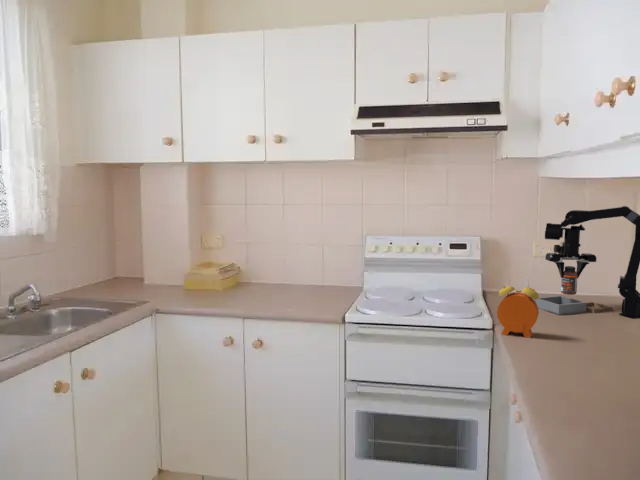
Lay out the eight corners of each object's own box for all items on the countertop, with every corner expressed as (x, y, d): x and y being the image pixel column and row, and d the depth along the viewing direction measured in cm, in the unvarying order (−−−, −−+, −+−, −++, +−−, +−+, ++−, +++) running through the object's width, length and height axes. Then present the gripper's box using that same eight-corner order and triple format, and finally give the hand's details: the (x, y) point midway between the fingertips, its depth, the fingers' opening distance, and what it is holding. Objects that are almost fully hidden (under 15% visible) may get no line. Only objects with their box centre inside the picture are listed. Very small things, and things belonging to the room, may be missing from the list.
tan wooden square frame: (612, 310, 226) (612, 307, 226) (593, 312, 223) (594, 309, 223) (593, 305, 236) (593, 302, 235) (575, 307, 232) (575, 303, 232)
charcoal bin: (586, 312, 224) (586, 302, 224) (558, 315, 220) (559, 305, 219) (560, 304, 237) (561, 295, 237) (534, 307, 233) (534, 298, 232)
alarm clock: (537, 334, 194) (540, 278, 191) (536, 338, 188) (538, 281, 186) (498, 329, 200) (500, 275, 197) (496, 334, 194) (498, 278, 192)
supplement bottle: (560, 294, 227) (561, 267, 226) (561, 291, 232) (562, 265, 231) (576, 295, 224) (577, 268, 223) (577, 292, 229) (578, 266, 228)
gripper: (585, 238, 233) (583, 274, 235) (541, 238, 234) (539, 274, 236) (598, 241, 222) (595, 279, 224) (551, 241, 223) (549, 279, 225)
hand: (569, 278), depth 227 cm, fingers closed on supplement bottle, 6 cm apart
